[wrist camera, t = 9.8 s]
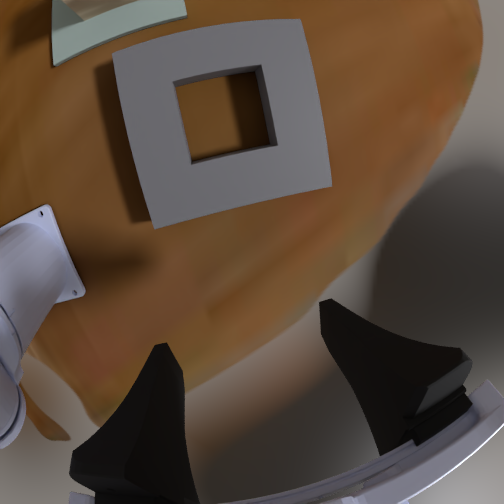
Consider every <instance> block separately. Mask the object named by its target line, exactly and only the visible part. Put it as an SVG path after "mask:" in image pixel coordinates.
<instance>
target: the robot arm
mask: <svg viewBox="0 0 504 504" xmlns="http://www.w3.org/2000/svg"><path fill="white" fill-rule="evenodd" d="M40 211H42V212H43V216H42V215H41V213H40ZM74 290H75V291H76V292H77V293H75V292H74ZM85 292H86V290H85V287H84V285H83V283H82V281H81V279H80V277H79V275H78V273H77V271H76V269H75V266H74V264H73V262H72V260H71V257H70V255H69V253H68V250H67V248H66V246H65V243H64V241H63V238H62V236H61V233H60V231H59V228H58V225H57V223H56V220H55V217H54V214H53V211H52V208H51V207H50V206H49V205H47V204H46V205H43V206H41V207H39V208H37V209H35V210H33V211H31V212H29V213H27V214H25V215H23V216H21V217H19V218H17V219H16V220H14V221H12V222H10V223H8V224H6V225H5V226H3V227H1V228H0V449H2V448H4V447H6V446H7V445H9V444H10V443H11V442H12V441H13V440H14V439H15V438H16V437H17V435H18V434H19V432H20V430H21V428H22V425H23V423H24V419H25V414H26V403H25V398H24V395H23V392H22V390H21V389H20V387H19V385H18V384H19V382H20V380H21V377H22V375H23V373H24V372H23V370H22V368H21V364H20V362H21V359H22V357H23V355H24V353H25V352H26V350H27V348H28V346H29V344H30V342H31V341H32V339H33V337H34V336H35V334H36V332H37V330H38V329H39V327H40V325H41V324H42V322H43V321H44V319H45V317H46V316H47V314H48V313H49V311H50V309H51V308H52V306H53V305H54V304H55V303H59V302H63V301H67V300H70V299H74V298H78V297H82V296H84V294H85ZM319 306H320V324H321V335H322V337H323V339H324V342H325V344H326V346H327V348H328V350H329V352H330V353H331V355H332V357H333V358H334V360H335V362H336V363H337V365H338V366H339V368H340V369H341V371H342V372H343V374H344V376H345V377H346V379H347V380H348V382H349V383H350V385H351V387H352V389H353V390H354V393H355V395H356V397H357V399H358V401H359V403H360V405H361V408H362V410H363V412H364V414H365V417H366V419H367V422H368V424H369V427H370V429H371V432H372V434H373V437H374V440H375V443H376V445H377V448H378V451H379V454H380V457H378V458H376V459H374V460H372V461H370V462H368V463H365V464H363V465H361V466H359V467H356V468H354V469H352V470H349V471H347V472H344V473H342V474H339V475H336V476H334V477H331V478H328V479H326V480H322V481H320V482H317V483H313V484H310V485H307V486H304V487H300V488H297V489H293V490H289V491H286V492H282V493H278V494H273V495H269V496H264V497H259V498H254V499H248V500H242V501H235V502H229V503H220V504H305V503H308V502H311V501H315V500H317V499H321V498H324V497H327V496H329V495H332V494H335V493H338V492H340V491H343V490H346V489H348V488H351V487H353V486H356V485H358V484H360V483H362V482H364V484H363V486H364V487H363V488H362V489H361V490H358V491H356V492H353V493H350V494H347V495H345V496H341V497H338V498H335V499H332V500H329V501H326V502H322V503H320V504H409V502H408V499H410V498H412V497H413V496H415V495H417V494H418V493H420V492H421V491H423V490H425V489H426V488H428V487H429V486H431V485H433V484H434V483H436V482H437V481H438V480H440V479H441V478H443V477H444V476H445V475H447V474H448V473H450V472H451V471H452V470H454V469H455V468H456V467H458V466H459V465H460V464H461V463H463V462H464V461H465V460H466V459H468V458H469V457H470V456H471V455H472V454H474V453H475V452H476V451H477V450H478V449H479V448H480V447H481V446H482V445H484V444H485V443H486V442H487V441H488V440H489V439H490V438H491V437H492V436H493V435H494V434H495V433H496V432H497V431H498V430H499V429H500V428H501V427H502V426H503V425H504V398H503V396H502V395H501V394H500V393H499V392H498V391H497V389H496V388H495V387H494V386H493V385H492V384H491V382H490V381H489V380H486V381H485V382H483V383H482V384H481V385H480V386H479V387H478V388H476V389H475V390H474V391H473V392H472V393H471V394H470V395H469V396H468V397H467V396H466V394H465V392H466V388H465V387H464V386H463V383H464V381H465V380H466V378H467V376H468V374H469V372H470V370H471V368H472V360H471V359H470V358H469V357H468V356H467V355H466V354H465V353H464V352H463V351H462V350H461V349H460V348H453V347H444V346H437V345H432V344H427V343H422V342H418V341H415V340H411V339H408V338H405V337H402V336H399V335H397V334H394V333H392V332H389V331H387V330H385V329H382V328H381V327H378V326H377V325H374V324H373V323H371V322H369V321H367V320H365V319H364V318H362V317H360V316H358V315H356V314H355V313H353V312H352V311H350V310H349V309H347V308H345V307H344V306H342V305H341V304H339V303H338V302H336V301H334V300H333V299H328V300H325V301H321V302H319ZM184 407H185V388H184V379H183V371H182V369H181V367H180V366H179V364H178V362H177V360H176V358H175V357H174V355H173V353H172V351H171V349H170V348H169V346H168V344H167V343H162V344H157V345H155V346H154V348H153V349H152V351H151V353H150V355H149V357H148V359H147V361H146V363H145V365H144V366H143V368H142V370H141V372H140V374H139V376H138V378H137V379H136V381H135V383H134V384H133V386H132V388H131V389H130V391H129V393H128V394H127V396H126V397H125V399H124V400H123V402H122V403H121V404H120V406H119V407H118V408H117V410H116V411H115V412H114V413H113V415H112V416H111V417H110V418H109V419H108V420H107V421H106V423H105V424H104V425H103V426H102V427H101V428H100V429H99V430H98V431H97V432H96V433H95V434H94V435H92V436H91V437H90V438H89V439H88V440H87V441H85V442H84V443H83V444H82V445H80V446H79V447H78V448H76V449H75V450H73V453H72V458H71V465H70V471H69V474H70V476H71V478H72V479H74V480H75V481H76V482H78V483H80V484H81V485H83V486H85V487H87V488H89V489H91V490H92V491H94V492H95V497H93V496H90V495H86V494H81V493H76V492H70V497H69V504H200V502H199V499H198V495H197V492H196V489H195V485H194V481H193V477H192V473H191V468H190V463H189V458H188V453H187V446H186V439H185V425H184V424H185V422H184V421H185V420H184V419H185V415H184V412H185V408H184ZM369 479H370V480H369ZM367 480H368V481H367ZM365 481H366V482H365Z"/></svg>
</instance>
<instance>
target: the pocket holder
mask: <svg viewBox="0 0 504 504" xmlns="http://www.w3.org/2000/svg"><path fill="white" fill-rule="evenodd" d="M112 56H113V63H114V69H115V75H116V81H117V86H118V92H119V97H120V102H121V107H122V112H123V116H124V121H125V125H126V130H127V134H128V138H129V142H130V146H131V150H132V154H133V158H134V162H135V166H136V169H137V173H138V177H139V180H140V184H141V187H142V191H143V194H144V197H145V201H146V204H147V207H148V210H149V214H150V217H151V220H152V223H153V226H154V229H157V228H161V227H164V226H168V225H172V224H175V223H179V222H182V221H186V220H190V219H193V218H197V217H201V216H205V215H209V214H212V213H216V212H220V211H224V210H228V209H232V208H236V207H240V206H244V205H249V204H253V203H257V202H261V201H265V200H270V199H274V198H279V197H283V196H288V195H292V194H297V193H301V192H306V191H311V190H316V189H320V188H325V187H330V186H332V180H331V172H330V164H329V156H328V149H327V142H326V135H325V129H324V123H323V117H322V111H321V106H320V100H319V95H318V90H317V85H316V80H315V76H314V71H313V67H312V62H311V58H310V54H309V50H308V46H307V42H306V38H305V34H304V30H303V27H302V23H301V19H274V20H257V21H245V22H236V23H228V24H221V25H214V26H208V27H203V28H198V29H193V30H188V31H183V32H179V33H175V34H171V35H167V36H163V37H160V38H156V39H153V40H149V41H146V42H143V43H140V44H137V45H134V46H131V47H128V48H125V49H123V50H120V51H117V52H115V53H112ZM254 71H255V74H256V78H257V83H258V87H259V92H260V97H261V102H262V106H263V111H264V116H265V121H266V126H267V131H268V136H269V142H270V145H265V146H260V147H254V148H249V149H245V150H240V151H235V152H231V153H226V154H222V155H218V156H214V157H210V158H205V159H202V160H198V161H194V162H192V160H191V156H190V151H189V147H188V143H187V139H186V134H185V130H184V126H183V121H182V117H181V112H180V108H179V103H178V99H177V94H176V89H175V87H178V86H181V85H185V84H189V83H194V82H198V81H202V80H207V79H212V78H217V77H222V76H228V75H234V74H240V73H246V72H254Z"/></svg>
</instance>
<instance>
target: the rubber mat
mask: <svg viewBox="0 0 504 504" xmlns="http://www.w3.org/2000/svg"><path fill="white" fill-rule="evenodd" d="M184 18H187V13H186V8H185V3H184V0H138V1H135V2H132V3H129V4H126V5H123V6H120V7H117V8H115V9H112V10H109V11H107V12H104V13H102V14H100V15H97V16H95V17H92V18H90V19H88V20H86V21H84V20H83V19H82V18H81V17H80V16H78V15H77V14H76V13H75V12H74V11H73V10H72V9H71V8H69V7H68V6H67V5H66V4H65V3H64V2H63V1H61V0H53V1H52V49H53V64H54V66H58V65H60V64H62V63H64V62H66V61H68V60H70V59H72V58H74V57H76V56H78V55H80V54H82V53H84V52H86V51H88V50H90V49H93V48H95V47H97V46H100V45H102V44H104V43H107V42H109V41H112V40H114V39H117V38H120V37H122V36H125V35H128V34H131V33H134V32H137V31H140V30H143V29H146V28H149V27H153V26H156V25H160V24H164V23H168V22H171V21H176V20H180V19H184Z"/></svg>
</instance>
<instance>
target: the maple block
mask: <svg viewBox="0 0 504 504" xmlns="http://www.w3.org/2000/svg"><path fill="white" fill-rule="evenodd" d="M61 1H63V2H64V3H65V4H66V5H67V6H68V7H69V8H71V9H72V10H73V11H74V12H75V13H76V14H77V15H78V16H80V17H81V18H82V19H83V20H84V21H86V20H88V19H90V18H92V17H95V16H97V15H100V14H102V13H104V12H107V11H109V10H112V9H115V8H117V7H120V6H123V5H126V4H129V3H132V2H135V1H138V0H61Z"/></svg>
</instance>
